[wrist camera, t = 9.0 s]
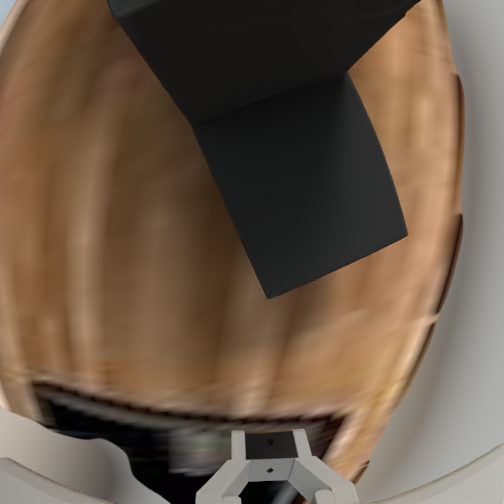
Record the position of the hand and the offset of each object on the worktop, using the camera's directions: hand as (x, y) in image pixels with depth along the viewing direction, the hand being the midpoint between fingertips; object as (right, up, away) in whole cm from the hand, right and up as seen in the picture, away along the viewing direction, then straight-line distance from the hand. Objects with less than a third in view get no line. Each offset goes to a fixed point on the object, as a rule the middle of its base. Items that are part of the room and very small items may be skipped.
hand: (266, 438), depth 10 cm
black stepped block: (+1, +18, +14) cm, 23 cm away
